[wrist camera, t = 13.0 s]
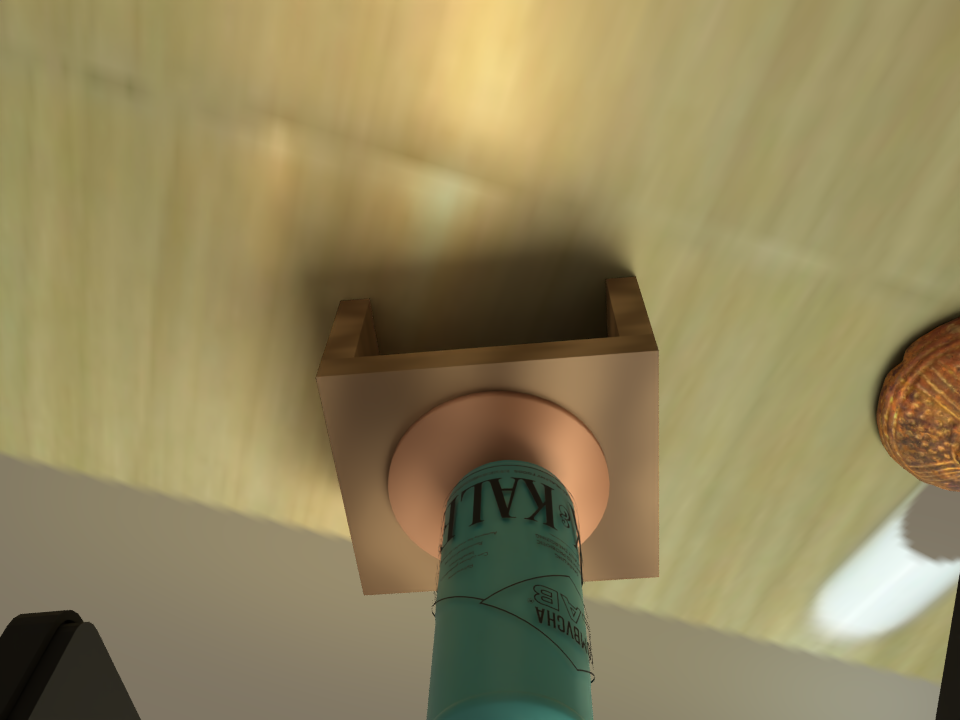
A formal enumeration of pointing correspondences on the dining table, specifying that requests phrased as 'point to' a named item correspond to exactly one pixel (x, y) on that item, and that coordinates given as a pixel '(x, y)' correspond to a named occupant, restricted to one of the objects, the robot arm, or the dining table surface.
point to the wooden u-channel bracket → (495, 437)
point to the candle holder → (925, 408)
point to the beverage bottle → (510, 601)
